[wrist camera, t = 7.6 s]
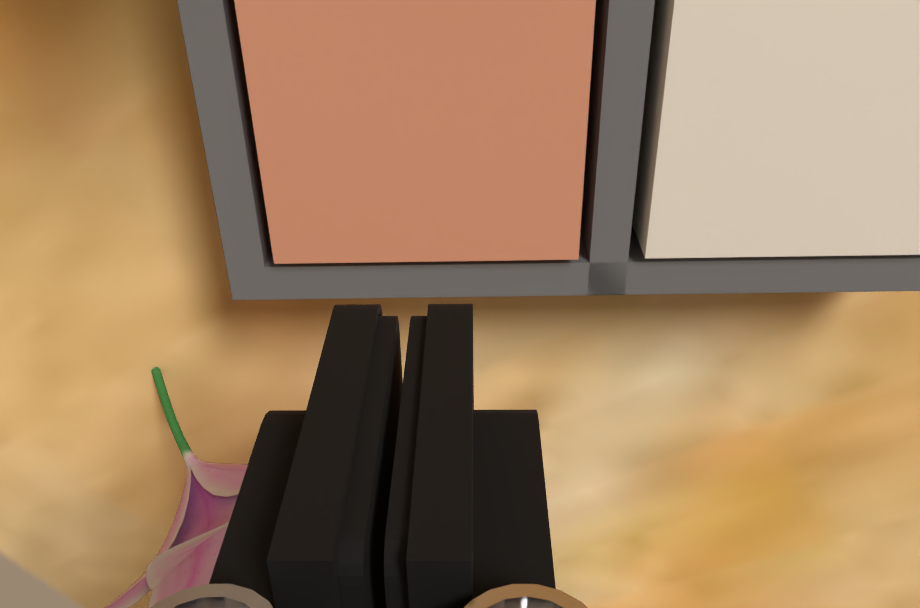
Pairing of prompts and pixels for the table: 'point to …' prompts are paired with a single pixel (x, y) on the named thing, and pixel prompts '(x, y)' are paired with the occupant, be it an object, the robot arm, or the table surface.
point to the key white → (780, 129)
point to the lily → (189, 522)
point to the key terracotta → (420, 127)
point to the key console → (595, 272)
